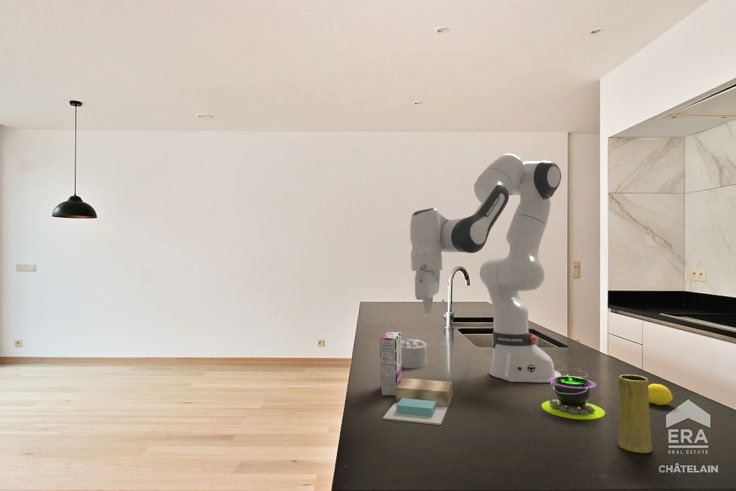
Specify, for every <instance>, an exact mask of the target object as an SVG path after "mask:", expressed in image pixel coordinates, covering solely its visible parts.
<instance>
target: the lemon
mask: <svg viewBox="0 0 736 491" xmlns="http://www.w3.org/2000/svg"><path fill="white" fill-rule="evenodd" d="M648 390H649V403H651V404H654V405H658V406H663V405H664V406H665V405H667V404H669V403H671V401H672V400H673V398H674V396H673V393H672V392H671V391H670V389H669V388H668V387H667V386H665V385H663V384H660V383H650V384H648Z"/></svg>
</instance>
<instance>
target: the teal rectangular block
mask: <svg viewBox="0 0 736 491" xmlns="http://www.w3.org/2000/svg"><path fill="white" fill-rule="evenodd" d="M435 411H436V401H428V400H416V399H405V398H402V399H401V400H400V401H399V403H398V404H397V405H396V413H398V414H408V415H418V416H428V417H433V415H434V413H435Z"/></svg>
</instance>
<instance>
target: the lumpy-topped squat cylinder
mask: <svg viewBox="0 0 736 491" xmlns="http://www.w3.org/2000/svg"><path fill="white" fill-rule="evenodd" d="M427 354H428V353H427V343H426V342H425V341H423V340H420V339H414V338H413V339H411V338H409V339H405V340H403V339H401V359H402V368H403V367H404V368H403V369H411V368H412V369H420V368H424V367H426V366H427V364H428V361H427V360H428V358H427ZM425 365H426V366H425ZM423 366H424V367H423ZM419 367H420V368H419Z"/></svg>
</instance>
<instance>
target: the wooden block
mask: <svg viewBox="0 0 736 491" xmlns="http://www.w3.org/2000/svg"><path fill="white" fill-rule="evenodd" d="M453 382H454V381H445V380H433V379H419V378H406V377H403V378H402V381H401V382H400V384H399V385H398V386H397V387H396V396H395V403H399V401H400V400H401V399H402V398H405V399H416V400H428V401H436V406H438V407H447V408H449V406H450V404H451V402H452V399H453V397H454V396H453V395H454V393H453V388H454V387H453V386H454V385H453Z"/></svg>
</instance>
